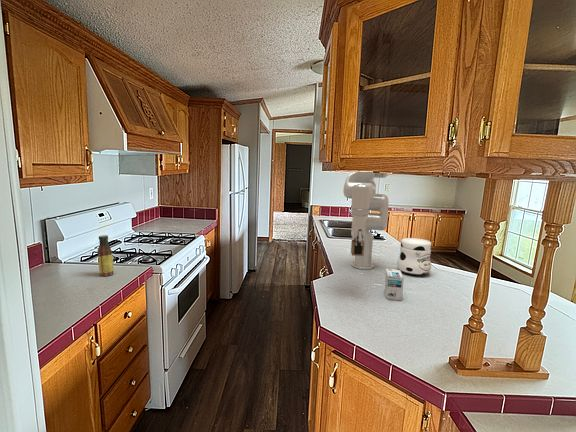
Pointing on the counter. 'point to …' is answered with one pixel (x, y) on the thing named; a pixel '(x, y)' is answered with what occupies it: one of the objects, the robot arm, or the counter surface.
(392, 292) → the light bulb box
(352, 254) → the walnut block
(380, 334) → the counter surface
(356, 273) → the counter surface
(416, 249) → the milk container
